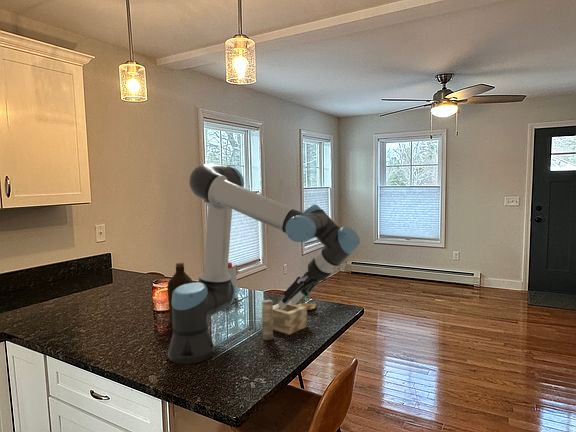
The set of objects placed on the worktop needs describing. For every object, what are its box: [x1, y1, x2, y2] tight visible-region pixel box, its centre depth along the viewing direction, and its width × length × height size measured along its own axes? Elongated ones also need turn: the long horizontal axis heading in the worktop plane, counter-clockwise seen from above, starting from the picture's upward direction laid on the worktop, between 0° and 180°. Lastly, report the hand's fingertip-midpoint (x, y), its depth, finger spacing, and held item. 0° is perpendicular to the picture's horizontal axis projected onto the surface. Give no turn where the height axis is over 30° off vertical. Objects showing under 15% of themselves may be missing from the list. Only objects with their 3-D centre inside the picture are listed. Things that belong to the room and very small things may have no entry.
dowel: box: [261, 299, 274, 341], centre depth 145 cm, size 4×4×14 cm
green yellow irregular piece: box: [297, 290, 317, 311], centre depth 179 cm, size 10×18×15 cm, turn 138°
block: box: [273, 303, 308, 335], centre depth 156 cm, size 11×11×8 cm
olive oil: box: [166, 262, 194, 326], centre depth 162 cm, size 11×11×25 cm
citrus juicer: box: [227, 261, 240, 291], centre depth 197 cm, size 16×17×20 cm
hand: (286, 304), depth 138 cm, fingers open, 5 cm apart
